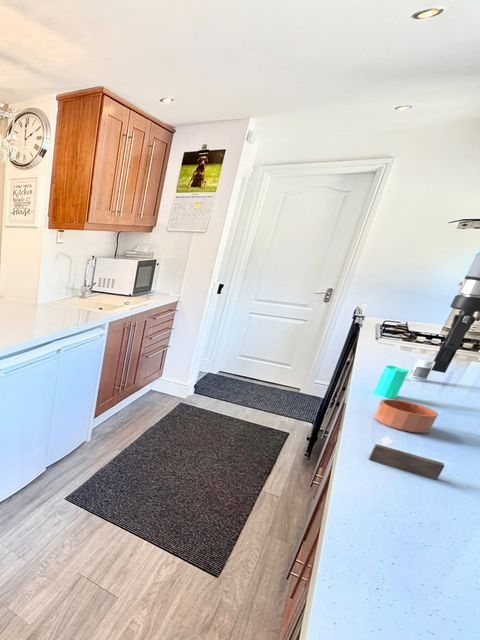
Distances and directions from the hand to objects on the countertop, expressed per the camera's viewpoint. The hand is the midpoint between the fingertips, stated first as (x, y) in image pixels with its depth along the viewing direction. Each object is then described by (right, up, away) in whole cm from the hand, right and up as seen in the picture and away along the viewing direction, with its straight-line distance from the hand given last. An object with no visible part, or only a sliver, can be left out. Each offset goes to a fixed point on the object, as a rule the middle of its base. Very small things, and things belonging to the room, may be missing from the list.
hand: (438, 366), depth 121 cm
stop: (-34, -26, -20) cm, 47 cm away
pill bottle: (+43, -4, +44) cm, 62 cm away
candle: (+11, -9, +27) cm, 30 cm away
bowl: (-8, -18, +3) cm, 20 cm away
